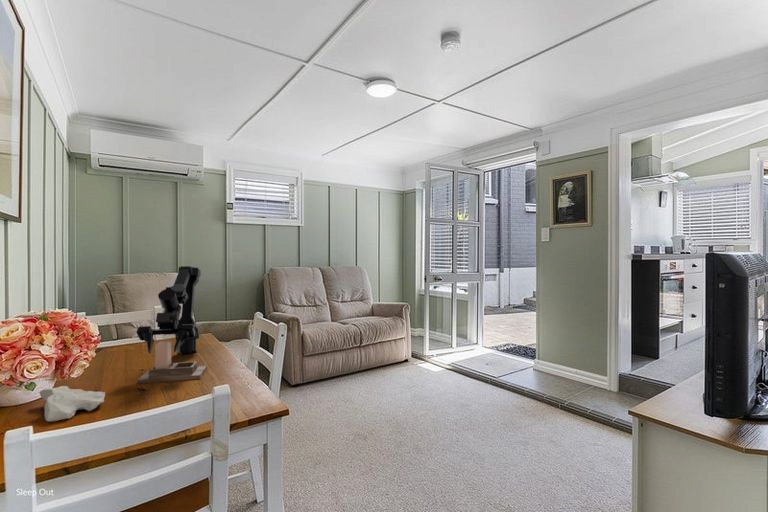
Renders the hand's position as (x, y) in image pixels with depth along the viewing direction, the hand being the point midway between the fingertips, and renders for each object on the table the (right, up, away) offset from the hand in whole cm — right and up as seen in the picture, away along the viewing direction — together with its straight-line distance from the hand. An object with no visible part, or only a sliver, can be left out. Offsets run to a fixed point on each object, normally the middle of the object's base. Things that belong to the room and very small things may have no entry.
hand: (162, 351), depth 135 cm
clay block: (0, -8, +1) cm, 8 cm away
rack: (+3, -9, +2) cm, 10 cm away
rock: (-10, -10, -26) cm, 30 cm away
